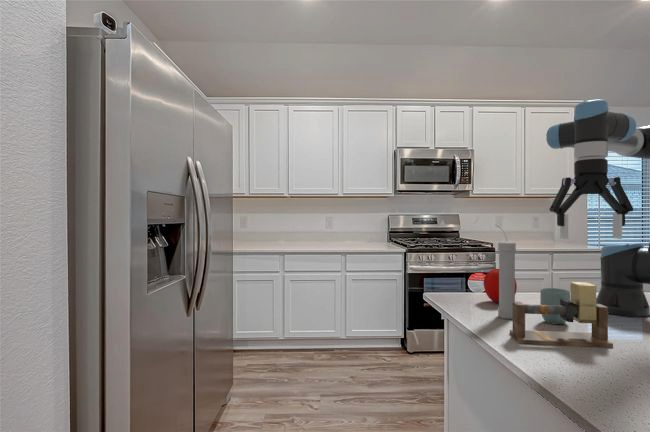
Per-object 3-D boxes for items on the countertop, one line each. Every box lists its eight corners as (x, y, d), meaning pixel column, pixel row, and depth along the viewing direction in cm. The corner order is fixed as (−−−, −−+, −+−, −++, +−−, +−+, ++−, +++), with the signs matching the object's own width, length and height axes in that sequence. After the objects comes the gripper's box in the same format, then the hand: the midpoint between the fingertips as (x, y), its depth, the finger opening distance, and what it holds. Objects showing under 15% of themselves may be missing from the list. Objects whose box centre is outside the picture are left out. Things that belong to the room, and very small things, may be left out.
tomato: (519, 301, 155) (519, 266, 155) (514, 307, 145) (514, 270, 144) (486, 297, 161) (486, 264, 161) (480, 303, 151) (480, 268, 151)
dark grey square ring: (565, 317, 110) (565, 298, 110) (573, 322, 105) (573, 303, 105) (560, 317, 110) (560, 298, 110) (568, 322, 105) (568, 302, 105)
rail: (595, 336, 111) (595, 301, 111) (613, 347, 102) (613, 309, 102) (509, 333, 114) (509, 299, 114) (520, 343, 105) (520, 307, 105)
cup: (559, 327, 120) (559, 293, 119) (535, 321, 126) (535, 289, 126) (575, 324, 123) (575, 291, 123) (550, 318, 130) (550, 287, 130)
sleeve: (586, 318, 109) (586, 282, 109) (596, 323, 104) (596, 285, 104) (570, 317, 110) (570, 282, 110) (579, 322, 105) (579, 285, 105)
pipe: (518, 319, 128) (518, 224, 128) (497, 318, 130) (497, 224, 129) (513, 315, 134) (513, 224, 134) (493, 314, 135) (493, 224, 135)
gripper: (630, 160, 112) (630, 237, 112) (536, 161, 114) (536, 237, 114) (650, 156, 104) (649, 239, 104) (548, 158, 106) (548, 239, 107)
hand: (590, 238), depth 109 cm, fingers open, 13 cm apart
